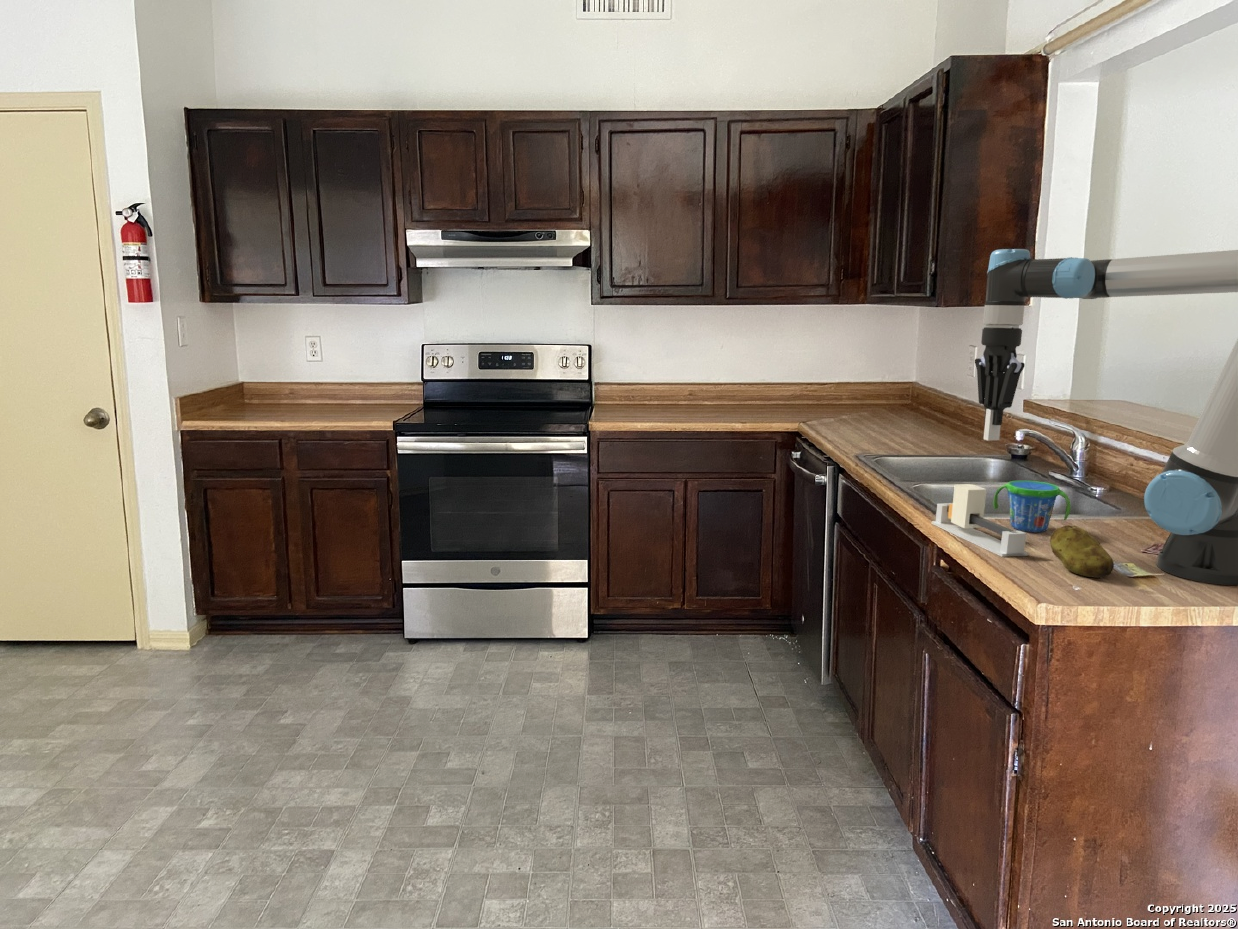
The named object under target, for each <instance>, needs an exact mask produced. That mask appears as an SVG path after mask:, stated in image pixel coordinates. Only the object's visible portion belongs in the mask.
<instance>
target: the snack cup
mask: <svg viewBox="0 0 1238 929" xmlns="http://www.w3.org/2000/svg"><path fill="white" fill-rule="evenodd" d="M1004 488H1005V489H1006V490H1007V495H1008V504H1009V521H1010V525H1011V527H1012V528H1013V529H1015V530H1016V531H1022V532H1027V533H1030V532H1031V533H1042V532H1046V531H1047V530H1048V527H1049V523H1050V521H1051V519H1052V518H1051V517H1052V513H1053V511H1054V506H1055V503H1056V499H1057V496H1061V497H1062V498H1064V499H1065V503H1066V504H1065V505H1066V507H1065V508H1066V509H1065V512H1064V514H1065V515H1064V518H1063V519H1064V521H1066V520H1067V518H1068V517H1069V515H1070V512H1071V501H1070V499H1069V496H1068V494H1066V492H1064V491H1062V490H1061V488H1060V487H1059V486H1058V485H1056V484H1053V483H1049V482H1044V481H1036V480H1024V479H1023V480H1010V481H1009V482H1007V483H1005V484H1003V485H1002V486H1000V487H999V488H998V489H997V490H996V491H995V494H994V496H993V508H994V509H995V510H997V509H998V508H999V504H998V502H999V500H998V498H999V497H998V496H999V493H1000V492H1001V491H1002V490H1003V489H1004Z"/></svg>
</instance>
